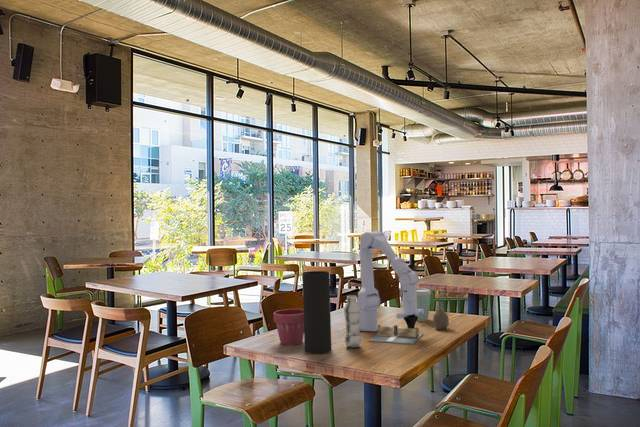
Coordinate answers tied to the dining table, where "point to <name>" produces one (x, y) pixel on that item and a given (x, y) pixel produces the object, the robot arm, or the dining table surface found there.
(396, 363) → the dining table surface
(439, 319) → the vase
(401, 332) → the fence panel
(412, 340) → the card
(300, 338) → the plant pot
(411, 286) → the robot arm
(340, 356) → the dining table surface
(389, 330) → the fence fixed
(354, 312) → the plastic bottle
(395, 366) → the dining table surface
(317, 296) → the vase
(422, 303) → the disposable coffee cup
